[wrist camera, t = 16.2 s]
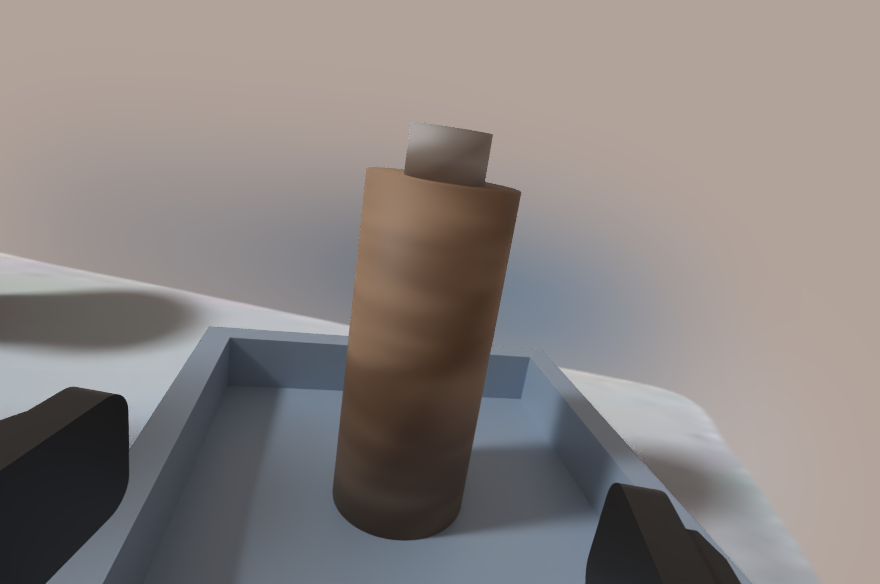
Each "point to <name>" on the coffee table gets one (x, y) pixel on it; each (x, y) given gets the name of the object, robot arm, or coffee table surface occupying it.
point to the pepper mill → (421, 333)
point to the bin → (312, 474)
